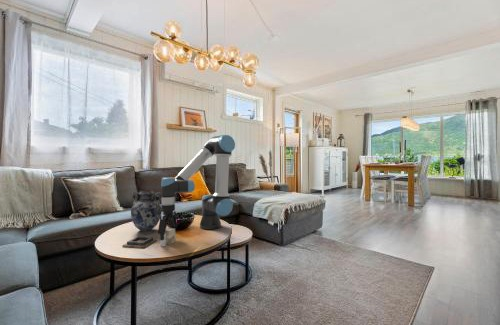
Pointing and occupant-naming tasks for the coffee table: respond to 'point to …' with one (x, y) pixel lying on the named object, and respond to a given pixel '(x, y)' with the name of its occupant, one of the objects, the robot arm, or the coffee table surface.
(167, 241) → the birch block
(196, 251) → the coffee table surface
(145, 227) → the decorative vase
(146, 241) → the base board
